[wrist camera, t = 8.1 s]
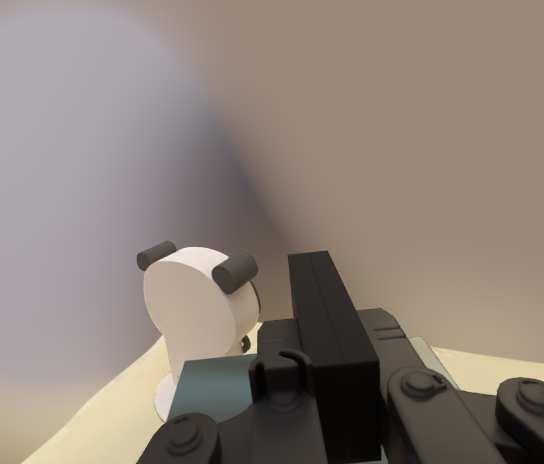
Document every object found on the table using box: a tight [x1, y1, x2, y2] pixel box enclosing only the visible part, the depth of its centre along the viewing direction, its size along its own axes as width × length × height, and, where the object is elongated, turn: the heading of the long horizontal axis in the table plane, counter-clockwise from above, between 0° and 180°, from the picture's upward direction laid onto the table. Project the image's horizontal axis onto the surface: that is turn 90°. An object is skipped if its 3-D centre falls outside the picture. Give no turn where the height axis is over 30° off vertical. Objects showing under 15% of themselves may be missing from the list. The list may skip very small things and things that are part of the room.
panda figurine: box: [137, 241, 261, 423], centre depth 37 cm, size 12×11×15 cm
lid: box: [166, 337, 460, 464], centre depth 20 cm, size 14×17×1 cm
